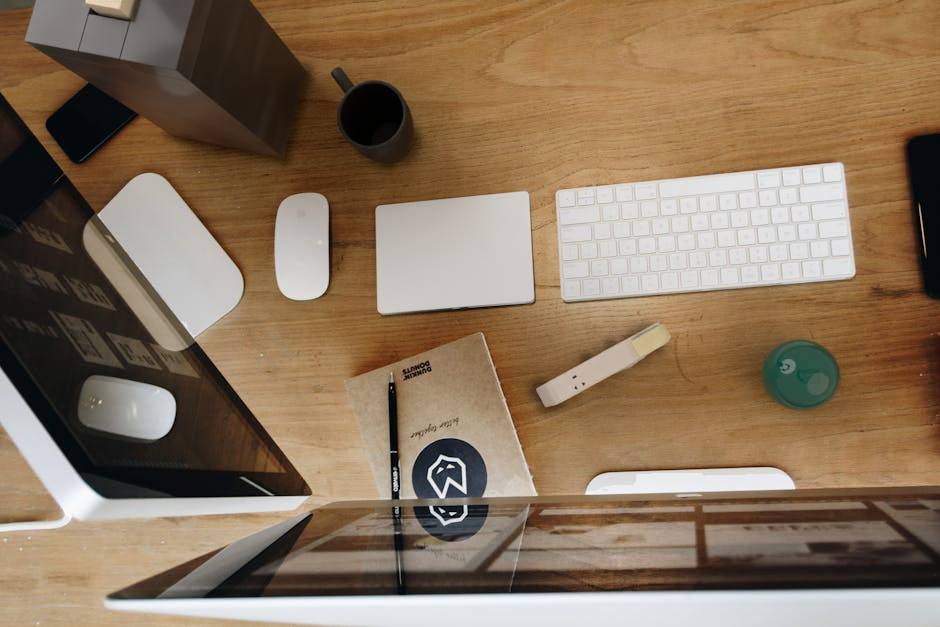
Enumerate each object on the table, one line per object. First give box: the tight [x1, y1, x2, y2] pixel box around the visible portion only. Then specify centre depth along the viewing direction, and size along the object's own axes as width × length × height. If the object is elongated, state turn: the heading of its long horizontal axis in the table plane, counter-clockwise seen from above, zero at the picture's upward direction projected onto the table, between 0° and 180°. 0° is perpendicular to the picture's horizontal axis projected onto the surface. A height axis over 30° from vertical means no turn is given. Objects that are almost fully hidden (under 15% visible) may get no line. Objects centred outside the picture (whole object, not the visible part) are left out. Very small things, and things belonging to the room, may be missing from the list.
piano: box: [24, 0, 307, 159], centre depth 79 cm, size 16×12×26 cm
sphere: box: [760, 338, 842, 413], centre depth 76 cm, size 8×8×8 cm
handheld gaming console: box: [535, 322, 672, 408], centre depth 79 cm, size 11×3×15 cm
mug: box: [330, 66, 415, 164], centre depth 84 cm, size 8×12×10 cm
